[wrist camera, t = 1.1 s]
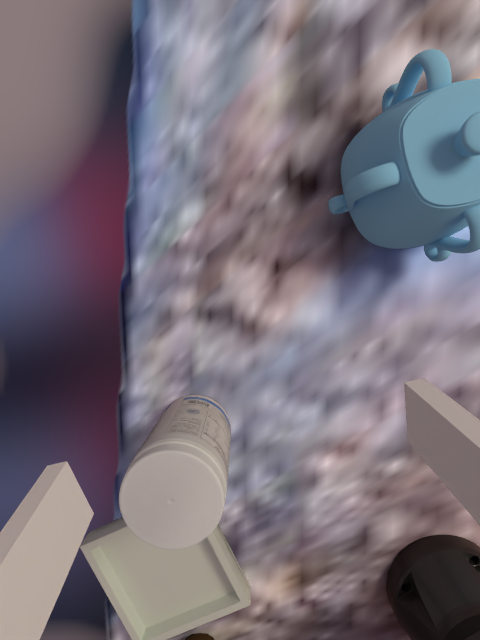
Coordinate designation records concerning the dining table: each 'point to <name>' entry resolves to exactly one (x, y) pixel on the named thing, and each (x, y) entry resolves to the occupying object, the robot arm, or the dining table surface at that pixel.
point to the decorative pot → (417, 164)
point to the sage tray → (165, 581)
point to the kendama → (200, 637)
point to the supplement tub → (179, 476)
